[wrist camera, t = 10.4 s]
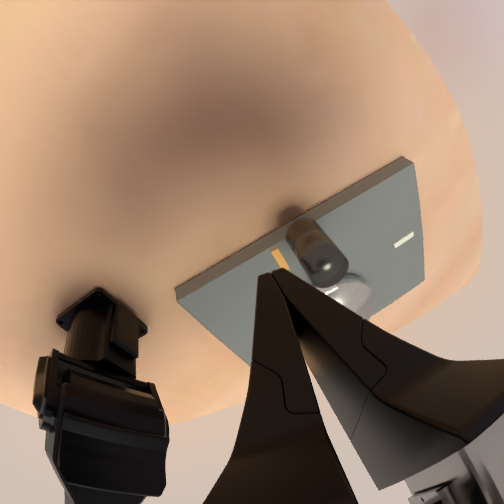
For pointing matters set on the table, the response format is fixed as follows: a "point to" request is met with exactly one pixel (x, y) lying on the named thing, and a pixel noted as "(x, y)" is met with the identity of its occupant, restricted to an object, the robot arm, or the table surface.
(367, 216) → the base plate
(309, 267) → the silver handled piece
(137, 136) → the table surface
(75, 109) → the table surface
